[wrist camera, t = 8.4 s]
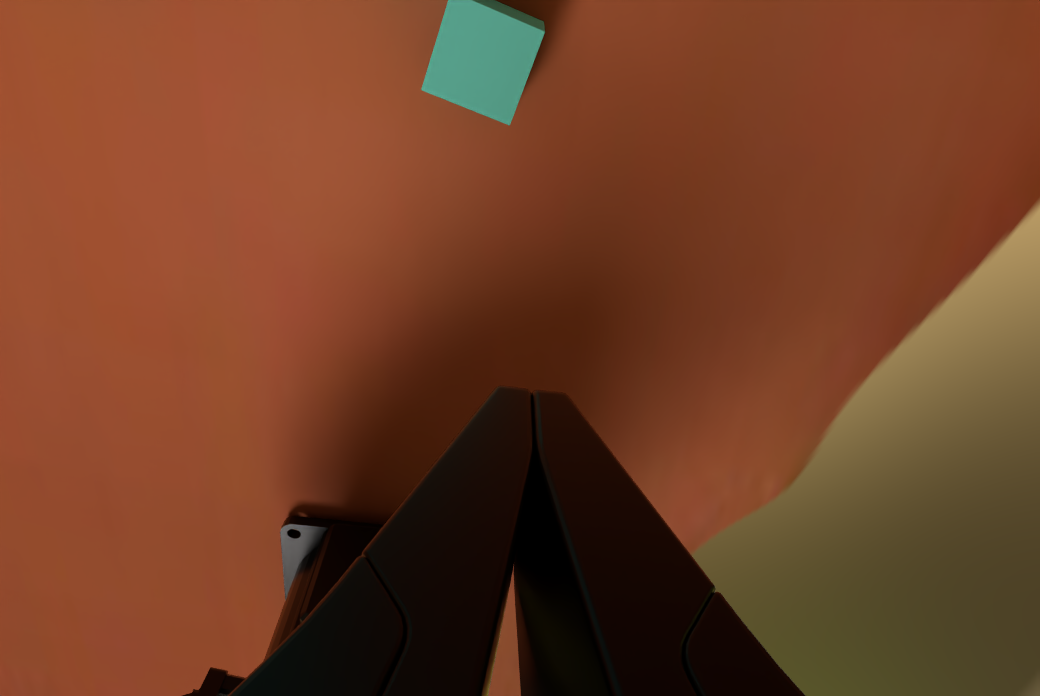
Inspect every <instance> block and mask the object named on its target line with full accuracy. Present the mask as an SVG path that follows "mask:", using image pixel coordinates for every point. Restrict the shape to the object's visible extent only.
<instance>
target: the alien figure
mask: <svg viewBox="0 0 1040 696" xmlns="http://www.w3.org/2000/svg"><path fill="white" fill-rule="evenodd" d="M544 33H545V27H544V21H541V20H539V19H537V18H534V17H532V16H530V15H528V14H525V13H523V12H521V11H518V10H516V9H514V8H511V7H509V6H507V5H505V4H502V3H500V2H498V1H495V0H448V3H447V7H446V10H445V13H444V16H443V20H442V23H441V26H440V30H439V33H438V36H437V40H436V43H435V46H434V50H433V53H432V56H431V59H430V63H429V66H428V69H427V73H426V76H425V79H424V83H423V86H422V89H421V90H422V91H425V92H427V93H430V94H432V95H435V96H437V97H440V98H442V99H445V100H447V101H450V102H452V103H455V104H457V105H460V106H462V107H465V108H467V109H470V110H472V111H475V112H477V113H480V114H482V115H485V116H487V117H490V118H492V119H495V120H497V121H500V122H502V123H505V124H507V125H510V123H511V121H512V118H513V115H514V113H515V110H516V108H517V105H518V102H519V100H520V97H521V94H522V92H523V89H524V86H525V84H526V81H527V78H528V76H529V73H530V70H531V68H532V65H533V62H534V60H535V57H536V55H537V52H538V49H539V47H540V44H541V41H542V39H543V36H544Z"/></svg>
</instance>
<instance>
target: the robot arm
mask: <svg viewBox="0 0 1040 696" xmlns="http://www.w3.org/2000/svg"><path fill="white" fill-rule="evenodd" d="M294 529H296V530H294ZM297 530H298V531H297ZM280 534H281V547H282V561H283V574H284V587H285V604H284V606H283V609H282V612H281V615H280V617H279V620H278V623H277V626H276V629H275V631H274V634H273V637H272V640H271V642H270V645H269V648H268V651H267V654H266V656H265V659H264V661H263V662H262V663H261V664H260V665H259V666H258V667H257V668H256V669H255V670H254V671H253V672H252V673H251V674H250V675H249V676H248V677H247V678H244V677H239V676H234V675H230V674H228V671H226V670H222V669H217V668H212V667H211V668H210V670H209V672H208V674H207V676H206V678H205V680H204V682H203V684H202V686H201V688H200V689H199V690H195V689H194V690H193V692H192V693H190V694H186V695H183V696H488V693H489V688H490V683H491V678H492V673H493V668H494V663H495V658H496V653H497V647H498V642H499V637H500V632H501V627H502V622H503V617H504V612H505V607H506V602H507V597H508V592H509V587H510V582H511V576H512V571H513V565H514V590H515V606H516V622H517V638H518V654H519V670H520V686H521V696H805V695H804V693H803V692H802V691H801V690H800V689H799V688H798V687H797V686H796V685H795V683H794V682H793V681H792V680H791V679H790V678H789V677H788V676H787V674H786V673H785V672H784V671H783V670H782V669H781V668H780V667H779V666H778V664H777V663H776V662H775V661H774V659H773V658H772V657H771V656H770V655H769V653H768V652H767V651H766V650H765V648H764V647H763V646H762V645H761V644H760V642H759V641H758V640H757V639H756V637H755V636H754V635H753V634H752V632H751V631H750V630H749V629H748V628H747V626H746V625H745V624H744V623H743V622H742V620H741V619H740V618H739V616H738V615H737V614H736V613H735V611H734V610H733V609H732V607H731V606H730V605H729V603H728V602H727V601H726V600H725V598H724V597H723V596H722V594H721V593H719V592H715V586H714V584H713V583H712V582H711V581H710V579H709V578H708V577H707V575H706V574H705V573H704V571H703V570H702V569H701V568H700V566H699V565H698V564H697V562H696V561H695V560H694V559H693V557H692V556H691V555H690V553H689V552H688V551H687V549H686V548H685V547H684V546H683V544H682V543H681V542H680V540H679V539H678V538H677V536H676V535H675V534H674V533H673V531H672V530H671V529H670V527H669V526H668V525H667V523H666V522H665V521H664V520H663V518H662V517H661V516H660V514H659V513H658V512H657V511H656V509H655V508H654V507H653V505H652V504H651V503H650V501H649V500H648V499H647V498H646V496H645V495H644V494H643V492H642V491H641V490H640V489H639V487H638V486H637V485H636V483H635V482H634V481H633V479H632V478H631V477H630V476H629V474H628V473H627V472H626V470H625V469H624V468H623V466H622V465H621V464H620V463H619V461H618V460H617V459H616V457H615V456H614V455H613V454H612V452H611V451H610V450H609V448H608V447H607V446H606V444H605V443H604V442H603V441H602V439H601V438H600V437H599V435H598V434H597V433H596V431H595V430H594V429H593V428H592V426H591V425H590V424H589V422H588V421H587V420H586V419H585V417H584V416H583V415H582V413H581V412H580V411H579V409H578V408H577V407H576V406H575V404H574V403H573V402H572V400H571V399H570V398H569V397H568V396H567V395H566V394H565V393H561V392H551V391H542V390H535V391H533V393H532V394H531V393H530V391H529V390H528V389H525V388H516V387H508V386H498V387H496V388H495V389H494V390H493V391H492V393H491V394H490V395H489V396H488V398H487V399H486V400H485V401H484V403H483V404H482V405H481V406H480V407H479V409H478V410H477V411H476V412H475V414H474V415H473V416H472V417H471V419H470V420H469V421H468V422H467V424H466V425H465V426H464V427H463V428H462V430H461V431H460V432H459V433H458V435H457V436H456V437H455V438H454V440H453V441H452V442H451V443H450V444H449V446H448V447H447V448H446V449H445V451H444V452H443V453H442V454H441V456H440V457H439V458H438V459H437V460H436V462H435V463H434V464H433V465H432V467H431V468H430V469H429V470H428V472H427V473H426V474H425V475H424V476H423V478H422V479H421V480H420V481H419V483H418V484H417V485H416V486H415V488H414V489H413V490H412V491H411V492H410V494H409V495H408V496H407V497H406V499H405V500H404V501H403V502H402V504H401V505H400V506H399V507H398V508H397V510H396V511H395V512H394V513H393V515H392V516H391V517H390V518H389V520H388V521H387V522H386V523H385V524H384V525H376V524H367V523H357V522H347V521H338V520H328V519H318V518H309V517H299V516H291V517H289V518H287V519H286V520H285V521H284V523H283V526H282V528H281V532H280ZM714 592H715V593H714Z"/></svg>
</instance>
